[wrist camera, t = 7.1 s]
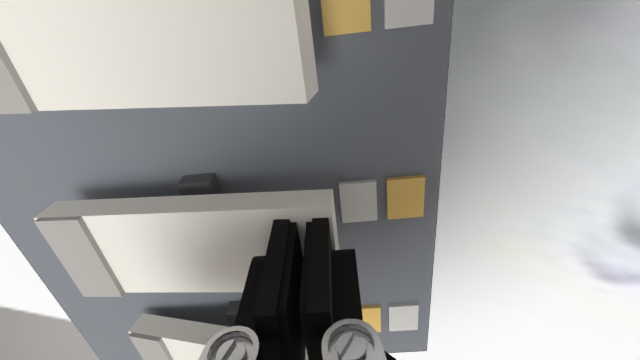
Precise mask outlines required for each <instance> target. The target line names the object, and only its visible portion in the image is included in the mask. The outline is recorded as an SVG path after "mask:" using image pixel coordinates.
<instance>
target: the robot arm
mask: <svg viewBox="0 0 640 360" xmlns="http://www.w3.org/2000/svg"><path fill="white" fill-rule="evenodd" d="M306 349H307V354H308V359H309V360H396V359H395V358H393V357H392V356H391V355H389V354H388V353H387V352H385V351H384V349H383V346H382V343H381V340H380V337H379V335H378V333H377V331H376V330H375V329H374V328H373V327H372V326H371V325H370V324H368V323H366V322H365V321H363V316H362V307H361V298H360V289H359V280H358V271H357V263H356V254H355V249H343V250H332V241H331V233H330V225H329V218H312V222H306V229H305V241H304V253H303V255H302V249H301V244H300V238H299V233H298V227H297V222H290V219H274V220H273V224H272V229H271V233H270V238H269V242H268V247H267V251H266V256H254V257H253V258H252V260H251V264H250V267H249V271H248V275H247V279H246V282H245V286H244V290H243V294H242V297H241V301H240V305H239V309H238V312H237V316H236V320H235V324H234V326H231V327H228V328H226V329H223V330H221V331H220V332H218V333H217V334H215V335H214V336H213V337H212V338H211V339H210V340H209V341H208V343H207V344H206V346H205V347H204V349H203V351H202V353H201V355H200V357H199V359H198V360H305V354H306Z"/></svg>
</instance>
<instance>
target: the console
mask: <svg viewBox="0 0 640 360" xmlns="http://www.w3.org/2000/svg"><path fill="white" fill-rule="evenodd" d="M453 1H454V0H308V3H309V11H310V20H311V29H312V38H313V46H314V55H315V64H316V73H317V82H318V90H319V91H318V92H317V93H316V94H315V95H314V96H313V97H312V99H311V100H310V101H309V102H308V103H307V104H274V105H238V106H202V107H166V108H130V109H94V110H58V111H37V112H35V113H30V114H0V224H1V225H2V226H3V228H4V229H5V231H6V232H7V233H8V235H9V236H10V237H11V239H12V240H13V241H14V243H15V244H16V246H17V247H18V248H19V250H20V251H21V252H22V254H23V255H24V256H25V258H26V259H27V261H28V262H29V263H30V265H31V266H32V267H33V269H34V270H35V272H36V273H37V274H38V276H39V277H40V278H41V280H42V281H43V282H44V284H45V285H46V287H47V288H48V289H49V291H50V292H51V293H52V295H53V296H54V298H55V299H56V300H57V302H58V303H59V304H60V306H61V307H62V308H63V310H64V311H65V313H66V314H67V315H68V317H69V318H70V319H71V321H72V322H73V323H74V325H75V326H76V327H77V329H78V330H79V332H80V333H81V334H82V336H83V337H84V338H85V340H86V341H87V343H88V344H89V345H90V347H91V348H92V349H93V351H94V352H95V354H96V355H97V356H98V358H99V359H100V360H143V358H142V357H141V355H140V354H139V352H138V350H137V349H136V347H135V346H134V344H133V342H132V341H131V339H130V338H129V335H130V334H129V332H128V331H129V330H130V328H131V327H132V326H133V325H134V323H135V322H136V321H137V320H138V318H139V317H140V316H141V315H142V313H145V314H151V315H157V316H164V317H170V318H177V319H183V320H189V321H196V322H202V323H208V324H215V325H221V326H227V327H231V326H234V324H235V320H236V316H237V312H238V309H239V305H240V301H241V297H242V294H243V292H150V293H124V295H123V296H122V297H84V296H83V295H82V293H81V292H80V290H79V289H78V287H77V286H76V284H75V283H74V281H73V280H72V278H71V277H70V275H69V274H68V272H67V271H66V269H65V268H64V266H63V265H62V263H61V262H60V260H59V259H58V257H57V256H56V254H55V253H54V251H53V250H52V248H51V247H50V245H49V244H48V242H47V241H46V239H45V238H44V236H43V235H42V233H41V232H40V230H39V229H38V227H37V226H36V224H35V223H34V221H35V220H34V217H35V216H37V215H38V214H39V213H41V212H42V211H43V210H45V209H46V208H48V207H49V206H50V205H52V204H53V203H54V202H56V201H71V200H94V199H116V198H139V197H161V196H184V195H207V194H229V193H252V192H275V191H297V190H320V189H333V197H334V206H335V215H336V224H337V234H338V243H339V250H343V249H355V254H356V263H357V271H358V280H359V289H360V298H361V307H362V316H363V321H365V322H366V323H368V324H370V325H371V326H372V327H373V328H374V329H375V330H376V331H377V333H378V335H379V337H380V340H381V343H382V346H383V349H384V351H385V352H387V353H398V352H417V351H427V341H428V328H429V315H430V302H431V289H432V276H433V263H434V250H435V237H436V223H437V210H438V197H439V184H440V171H441V158H442V145H443V132H444V119H445V106H446V92H447V79H448V66H449V53H450V40H451V27H452V14H453Z"/></svg>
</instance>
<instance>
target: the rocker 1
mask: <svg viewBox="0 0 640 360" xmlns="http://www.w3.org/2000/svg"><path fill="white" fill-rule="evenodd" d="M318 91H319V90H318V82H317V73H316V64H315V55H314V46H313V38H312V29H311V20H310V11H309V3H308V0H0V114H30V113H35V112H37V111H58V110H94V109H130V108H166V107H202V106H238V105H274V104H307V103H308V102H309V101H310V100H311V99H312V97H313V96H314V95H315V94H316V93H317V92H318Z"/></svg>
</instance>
